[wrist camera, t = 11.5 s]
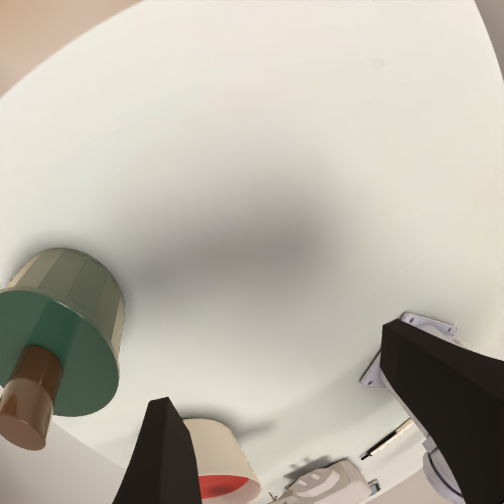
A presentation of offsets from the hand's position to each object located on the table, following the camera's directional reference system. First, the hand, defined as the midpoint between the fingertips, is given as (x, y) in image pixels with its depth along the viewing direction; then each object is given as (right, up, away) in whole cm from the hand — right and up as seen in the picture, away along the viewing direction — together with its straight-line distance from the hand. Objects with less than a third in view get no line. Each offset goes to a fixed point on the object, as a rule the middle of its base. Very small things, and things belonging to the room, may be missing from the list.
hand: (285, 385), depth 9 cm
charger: (+8, -25, +24) cm, 36 cm away
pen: (+21, -17, +24) cm, 36 cm away
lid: (-11, -1, +3) cm, 12 cm away
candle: (-6, -12, +15) cm, 20 cm away
